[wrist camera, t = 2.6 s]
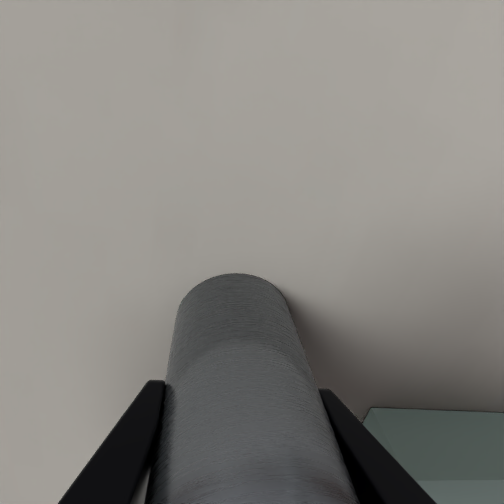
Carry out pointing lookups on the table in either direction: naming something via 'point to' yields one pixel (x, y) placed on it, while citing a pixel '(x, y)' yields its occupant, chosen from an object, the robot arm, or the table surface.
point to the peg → (242, 406)
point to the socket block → (446, 451)
